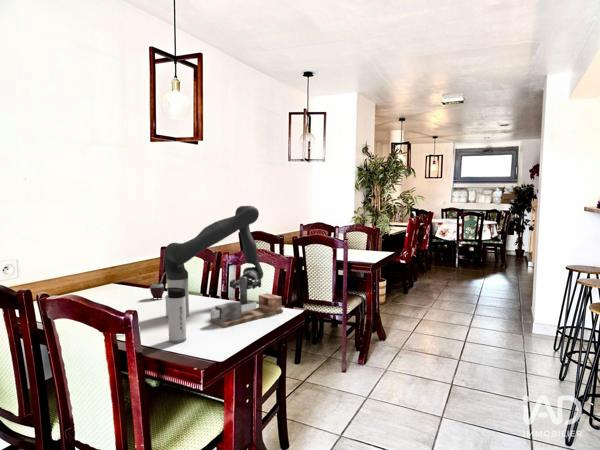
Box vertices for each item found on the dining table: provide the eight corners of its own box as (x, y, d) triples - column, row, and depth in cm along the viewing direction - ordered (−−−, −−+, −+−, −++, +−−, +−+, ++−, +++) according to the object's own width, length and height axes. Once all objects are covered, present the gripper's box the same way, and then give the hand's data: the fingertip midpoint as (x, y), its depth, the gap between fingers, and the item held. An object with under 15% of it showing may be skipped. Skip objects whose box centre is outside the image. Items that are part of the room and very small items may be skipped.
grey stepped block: (214, 318, 167) (214, 282, 166) (210, 316, 169) (209, 281, 168) (256, 308, 182) (256, 275, 181) (252, 307, 185) (251, 274, 184)
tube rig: (225, 327, 166) (224, 309, 166) (210, 321, 174) (210, 304, 174) (282, 312, 188) (282, 296, 188) (267, 308, 196) (267, 292, 196)
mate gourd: (147, 299, 214) (146, 271, 213) (158, 296, 221) (157, 269, 220) (158, 300, 211) (158, 272, 210) (169, 297, 218) (168, 270, 218)
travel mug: (170, 337, 154) (169, 286, 152) (187, 337, 154) (186, 285, 153) (166, 343, 147) (164, 289, 146) (184, 343, 148) (183, 289, 147)
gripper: (234, 272, 195) (227, 278, 179) (263, 272, 195) (259, 278, 179) (234, 287, 196) (227, 295, 180) (263, 287, 196) (259, 295, 179)
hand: (243, 286), depth 179 cm, fingers open, 8 cm apart
